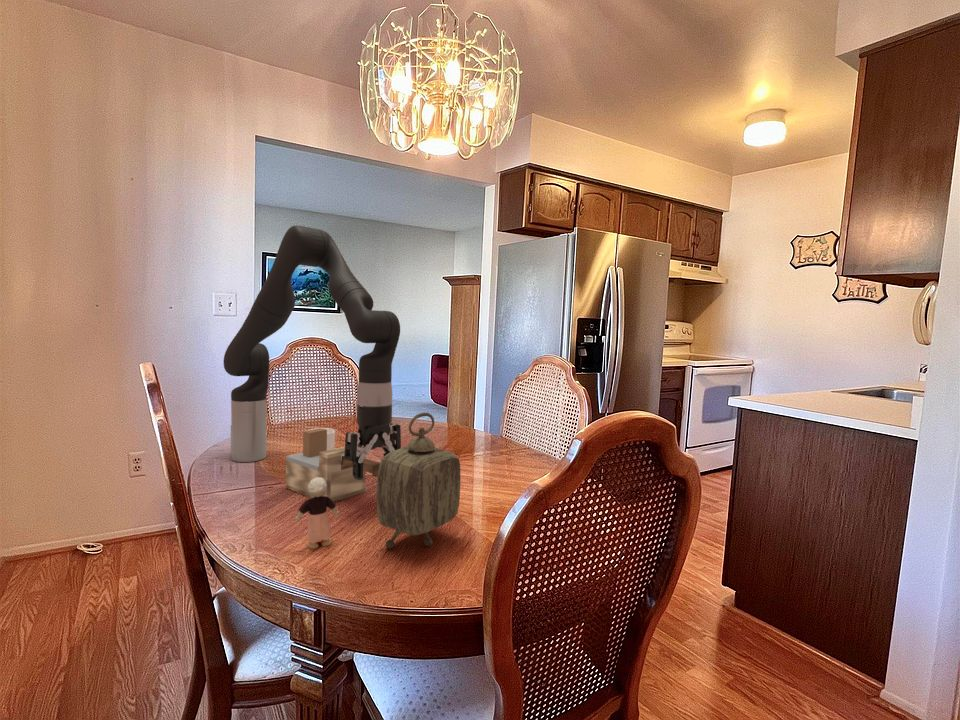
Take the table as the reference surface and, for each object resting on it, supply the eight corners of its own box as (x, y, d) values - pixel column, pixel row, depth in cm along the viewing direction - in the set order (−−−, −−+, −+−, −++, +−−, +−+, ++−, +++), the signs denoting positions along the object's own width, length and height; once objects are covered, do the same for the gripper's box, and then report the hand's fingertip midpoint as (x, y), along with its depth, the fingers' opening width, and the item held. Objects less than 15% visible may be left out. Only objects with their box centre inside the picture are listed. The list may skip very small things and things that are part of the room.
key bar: (340, 465, 117) (340, 455, 117) (351, 462, 120) (351, 452, 120) (375, 476, 110) (375, 465, 110) (386, 473, 113) (386, 462, 113)
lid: (285, 460, 124) (285, 431, 123) (324, 451, 132) (324, 424, 132) (318, 471, 116) (318, 440, 115) (356, 461, 125) (356, 432, 124)
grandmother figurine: (331, 535, 99) (332, 471, 98) (340, 542, 96) (341, 477, 95) (292, 546, 94) (292, 479, 93) (300, 554, 91) (300, 484, 90)
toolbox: (285, 488, 124) (285, 442, 123) (323, 477, 133) (324, 434, 132) (326, 504, 115) (327, 454, 114) (364, 492, 123) (365, 445, 122)
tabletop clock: (426, 525, 106) (430, 405, 103) (461, 537, 100) (466, 411, 98) (375, 549, 94) (377, 415, 92) (412, 564, 89) (415, 422, 86)
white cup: (326, 471, 138) (326, 435, 137) (299, 469, 140) (299, 433, 139) (339, 463, 146) (340, 429, 145) (314, 461, 147) (314, 427, 146)
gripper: (386, 396, 120) (385, 464, 121) (337, 403, 108) (336, 478, 110) (410, 400, 115) (408, 470, 117) (360, 408, 104) (359, 486, 105)
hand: (373, 474), depth 113 cm, fingers open, 8 cm apart
